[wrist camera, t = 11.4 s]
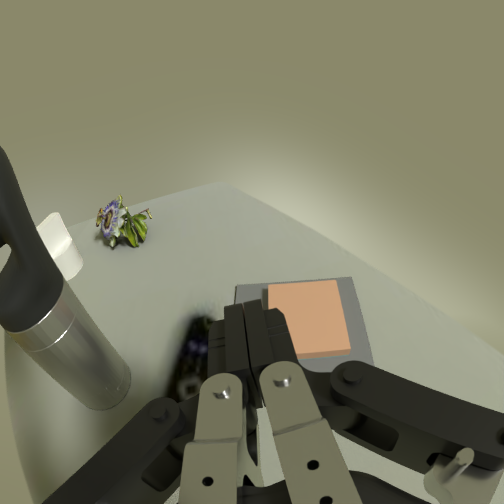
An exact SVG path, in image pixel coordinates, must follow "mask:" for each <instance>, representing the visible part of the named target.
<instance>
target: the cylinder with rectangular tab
mask: <svg viewBox="0 0 504 504" xmlns="http://www.w3.org/2000/svg"><path fill="white" fill-rule="evenodd" d="M36 229H37V231H38V233H39V235H40V237H41V239H42V241H43V243H44V244H45V246H46V248H47V250H48V252H49V253H50V255H51V257H52V258H53V260H54V262H55V263H56V265H57V267H58V268H59V270H60V272H61V273H62V275H63V276H64V278H65V280H66V281H68V280H70V279H71V278H73V277H74V276H75V275H76V274H77V273H78V272H79V271H80V269H81V268H82V265H83V259H82V257H81V255H80V253H79V251H78V249H77V247H76V246H75V244H74V242H73V240H72V238H71V237H70V235H69V233H68V231H67V229H66V227H65V225H64V223H63V221H62V219H61V216H60V214H59V213H57V212H56V213H51V214H50V215H49V216H48V217H47V218H46V219H45V220H44V221H43V222H42V223H41V224H40V225H39V226H37V228H36Z"/></svg>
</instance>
